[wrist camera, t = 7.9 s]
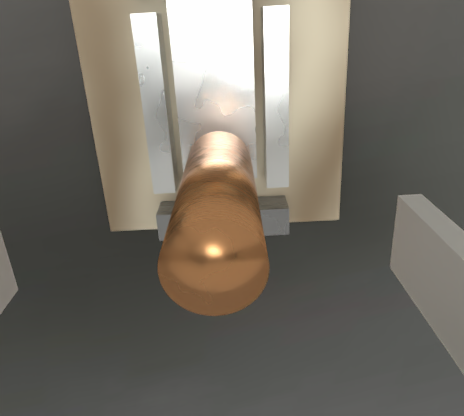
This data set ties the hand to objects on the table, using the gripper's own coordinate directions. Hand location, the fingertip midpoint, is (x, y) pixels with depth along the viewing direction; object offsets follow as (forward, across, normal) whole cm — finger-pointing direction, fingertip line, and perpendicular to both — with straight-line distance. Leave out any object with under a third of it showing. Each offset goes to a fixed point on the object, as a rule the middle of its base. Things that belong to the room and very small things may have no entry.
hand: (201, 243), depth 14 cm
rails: (+11, +1, +1) cm, 11 cm away
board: (+12, +1, +3) cm, 12 cm away
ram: (+11, +1, +4) cm, 12 cm away
